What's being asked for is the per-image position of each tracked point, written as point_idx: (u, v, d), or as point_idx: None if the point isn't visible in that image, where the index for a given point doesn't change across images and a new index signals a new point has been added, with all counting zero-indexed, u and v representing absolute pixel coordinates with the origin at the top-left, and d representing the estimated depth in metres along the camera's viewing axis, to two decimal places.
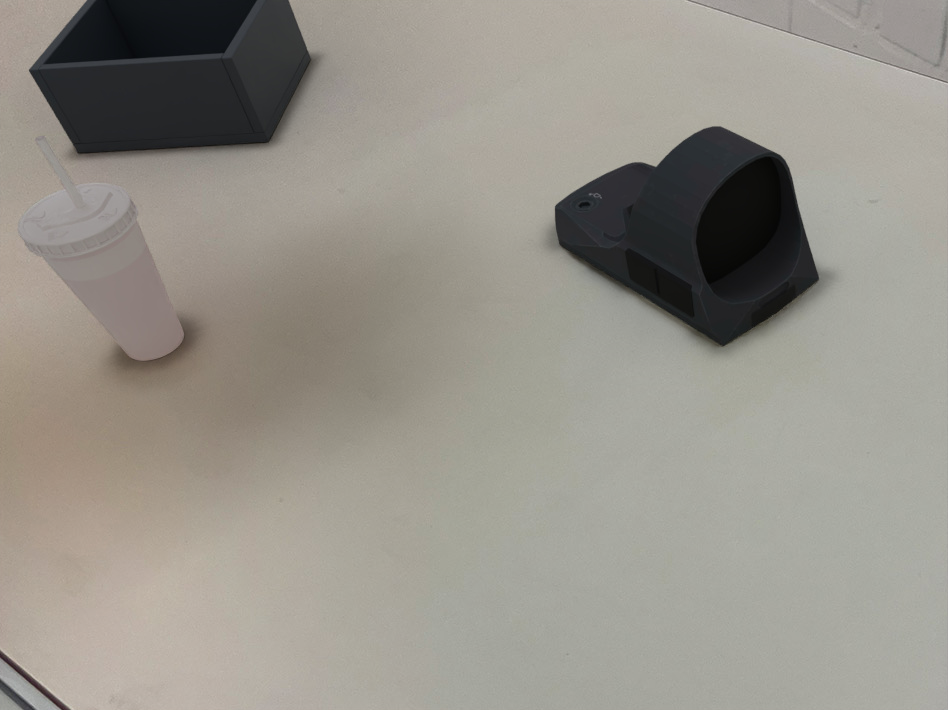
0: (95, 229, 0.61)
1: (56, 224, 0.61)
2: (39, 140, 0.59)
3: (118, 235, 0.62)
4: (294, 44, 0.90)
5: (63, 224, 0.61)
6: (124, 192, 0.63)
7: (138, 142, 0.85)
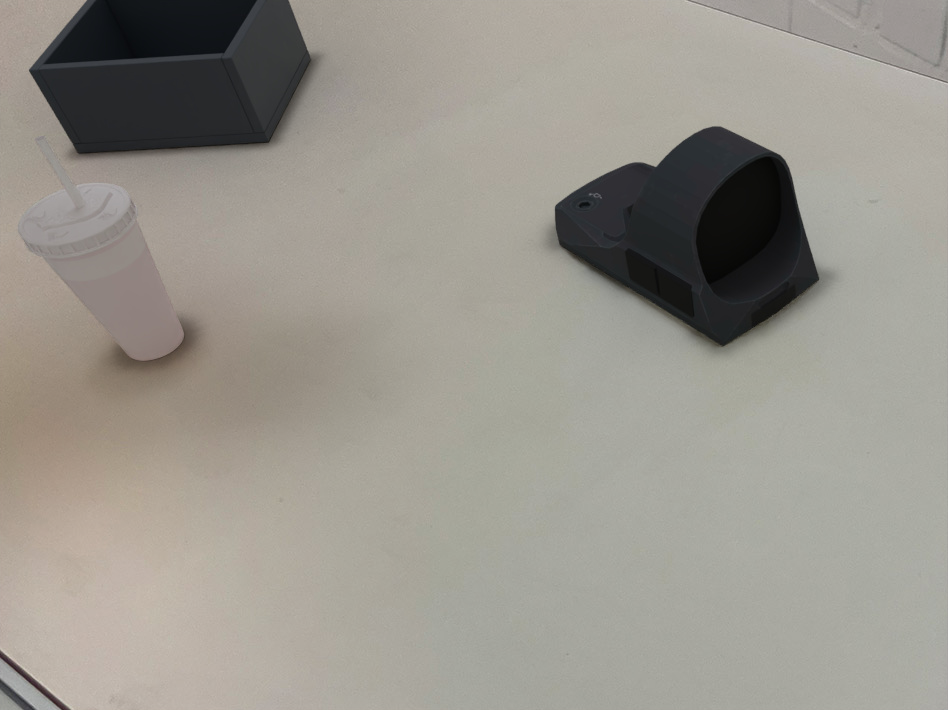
0: (95, 229, 0.61)
1: (56, 224, 0.61)
2: (39, 140, 0.59)
3: (118, 235, 0.62)
4: (294, 44, 0.90)
5: (63, 224, 0.61)
6: (124, 192, 0.63)
7: (138, 142, 0.85)
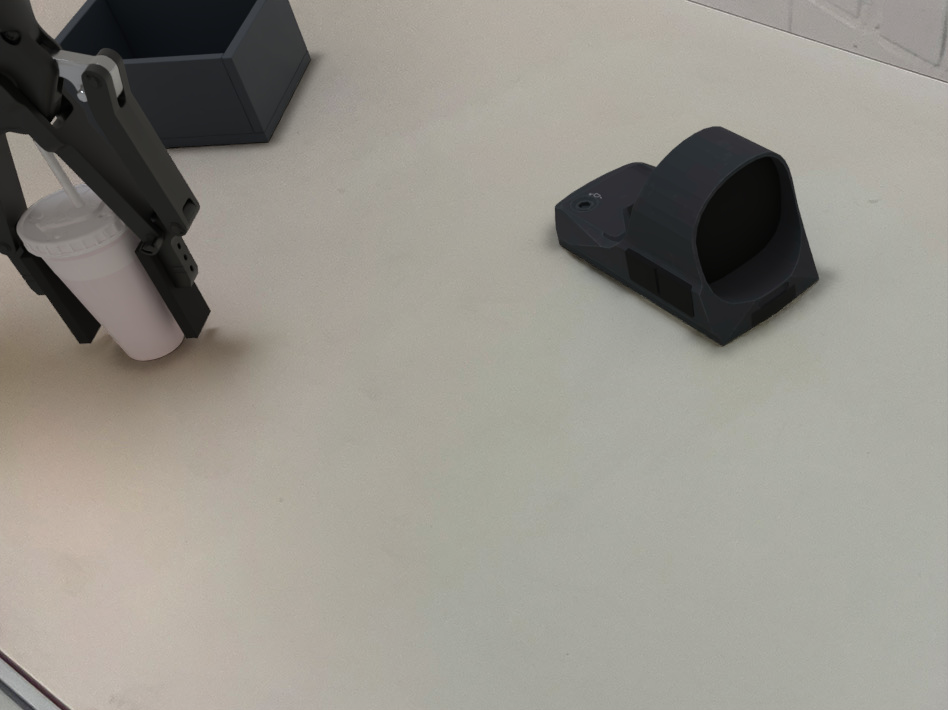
0: (93, 229, 0.61)
1: (55, 224, 0.61)
2: None
3: (117, 235, 0.62)
4: (294, 44, 0.90)
5: (62, 224, 0.61)
6: None
7: None
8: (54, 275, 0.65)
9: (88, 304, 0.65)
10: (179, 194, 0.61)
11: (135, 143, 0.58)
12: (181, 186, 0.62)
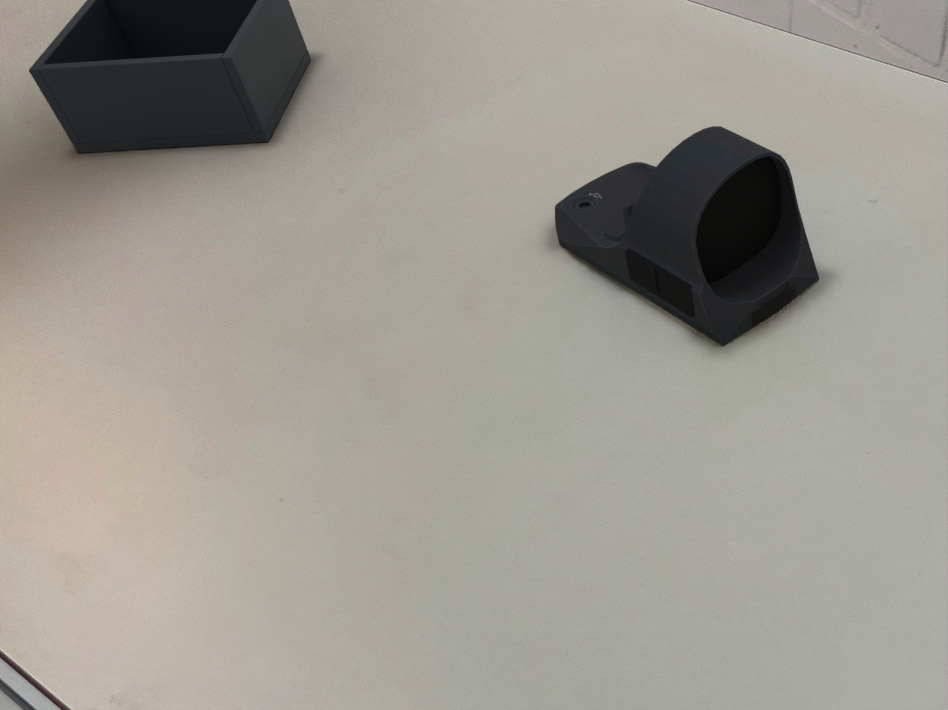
0: None
1: None
2: None
3: None
4: (294, 44, 0.90)
5: None
6: None
7: (138, 142, 0.85)
8: None
9: None
10: None
11: None
12: None
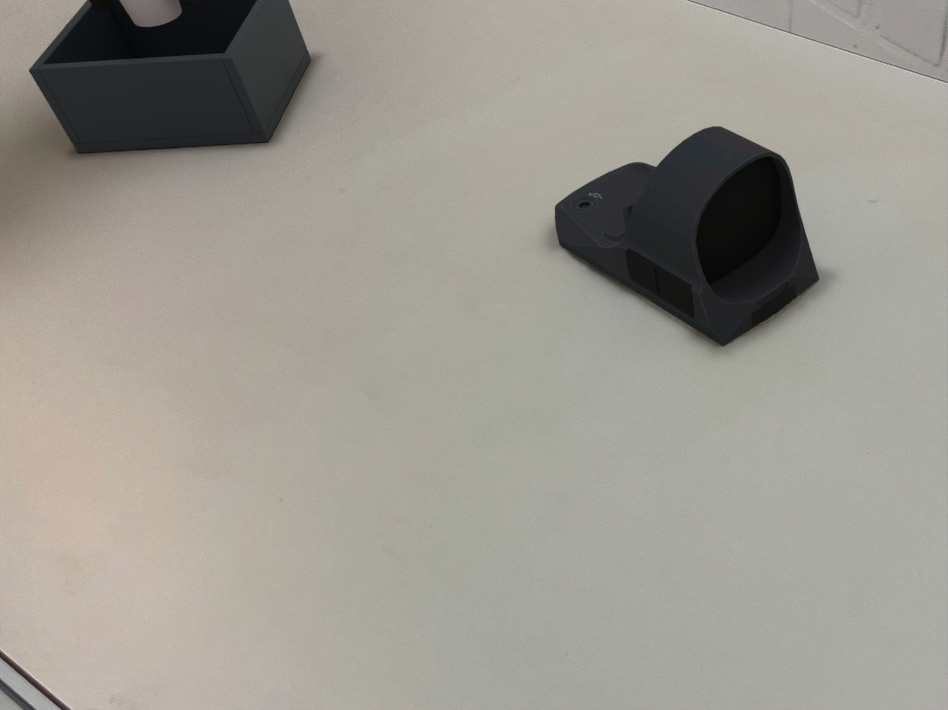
0: None
1: None
2: None
3: None
4: (294, 44, 0.90)
5: None
6: None
7: (138, 142, 0.85)
8: None
9: None
10: None
11: None
12: None
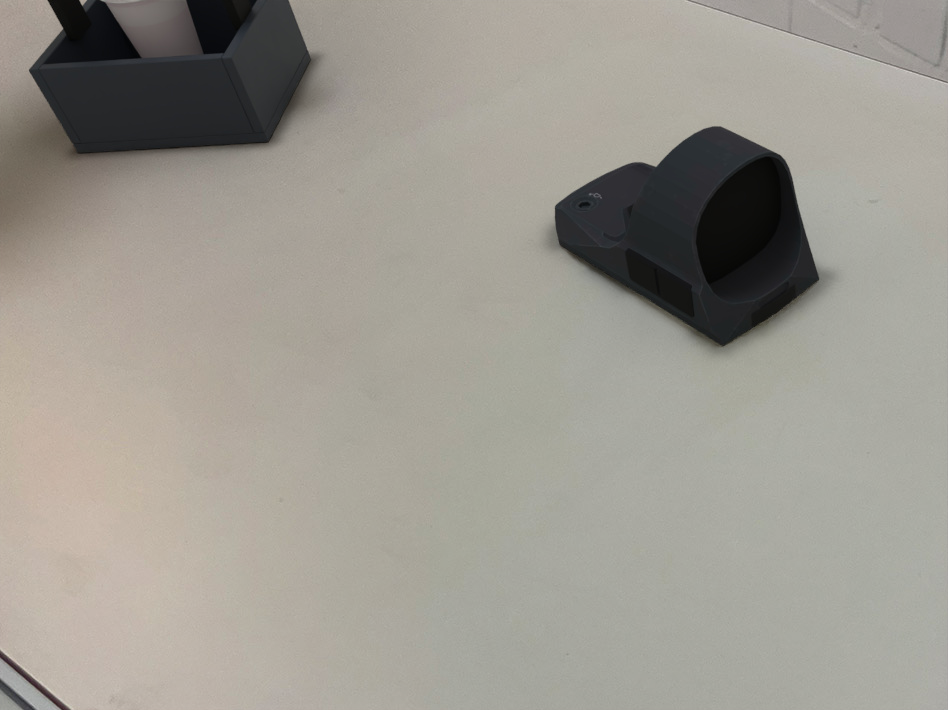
0: None
1: None
2: None
3: None
4: (294, 44, 0.90)
5: None
6: None
7: (138, 142, 0.85)
8: None
9: (143, 50, 0.84)
10: None
11: None
12: None
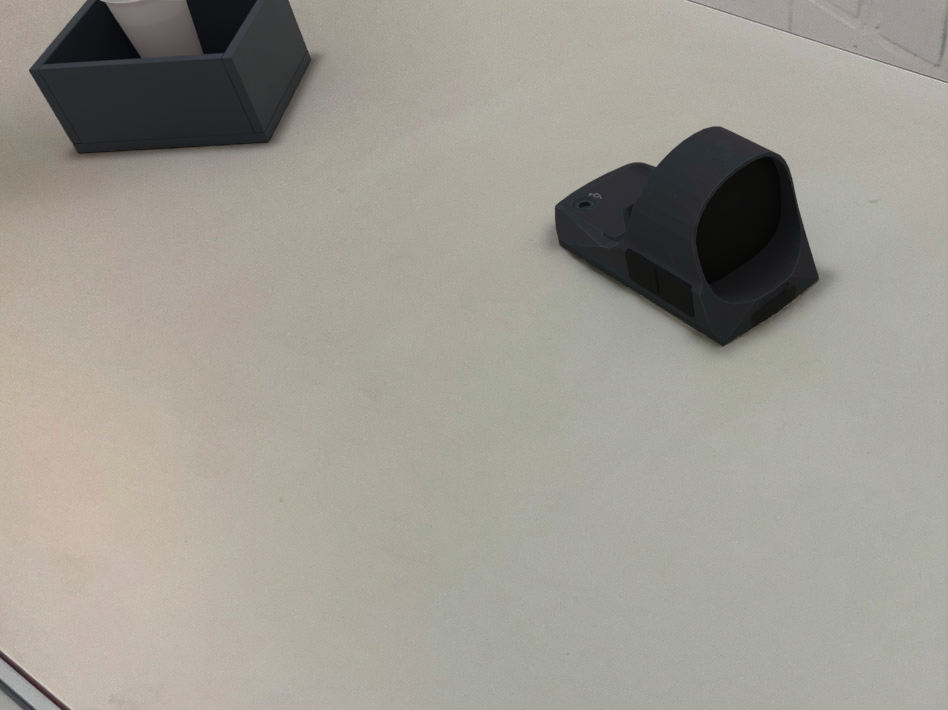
0: None
1: None
2: None
3: None
4: (294, 44, 0.90)
5: None
6: None
7: (138, 142, 0.85)
8: None
9: (143, 50, 0.84)
10: None
11: None
12: None
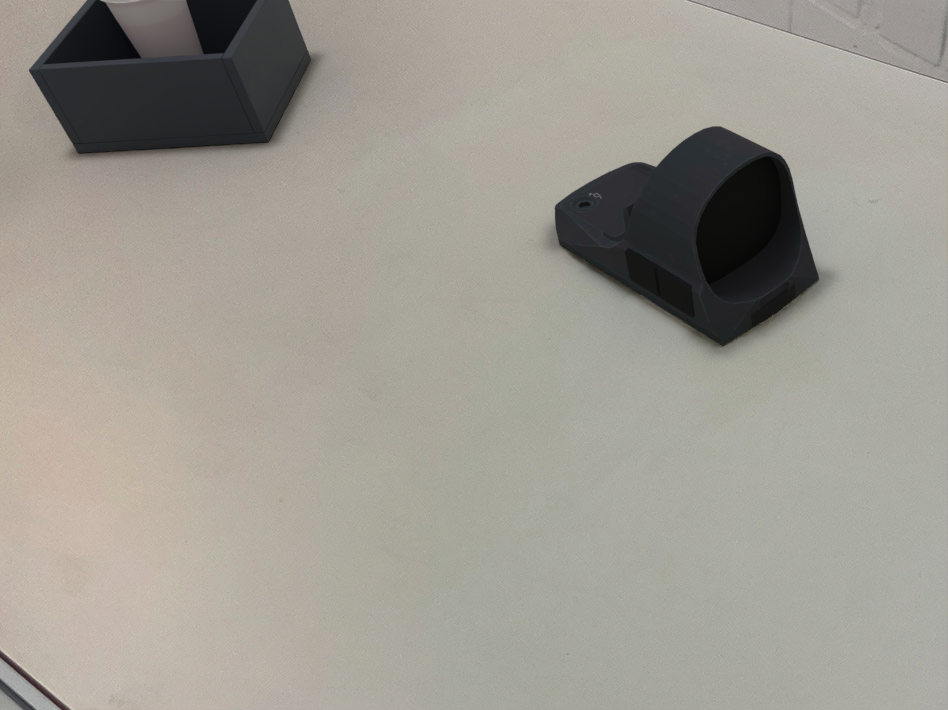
0: None
1: None
2: None
3: None
4: (294, 44, 0.90)
5: None
6: None
7: (138, 142, 0.85)
8: None
9: (143, 50, 0.84)
10: None
11: None
12: None
